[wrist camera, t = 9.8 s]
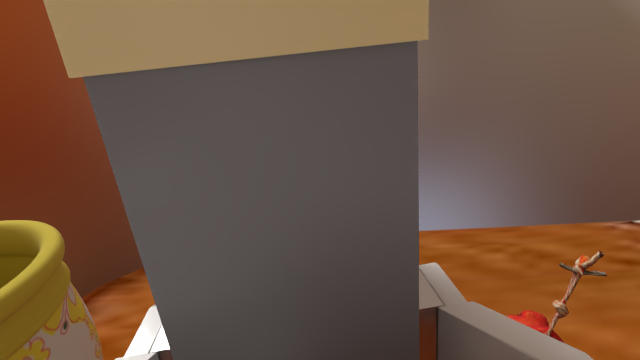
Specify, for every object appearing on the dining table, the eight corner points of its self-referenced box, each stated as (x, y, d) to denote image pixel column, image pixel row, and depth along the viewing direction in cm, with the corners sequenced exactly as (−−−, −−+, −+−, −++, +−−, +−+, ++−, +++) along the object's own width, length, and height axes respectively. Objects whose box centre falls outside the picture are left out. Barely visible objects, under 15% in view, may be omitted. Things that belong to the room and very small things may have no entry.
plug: (255, 640, 8) (36, -22, 4) (263, 454, 12) (163, 19, 8) (426, 603, 9) (428, -57, 4) (381, 432, 13) (354, -1, 8)
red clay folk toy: (472, 370, 29) (483, 205, 24) (576, 411, 25) (616, 225, 20) (446, 456, 23) (454, 263, 18) (576, 526, 19) (633, 306, 14)
